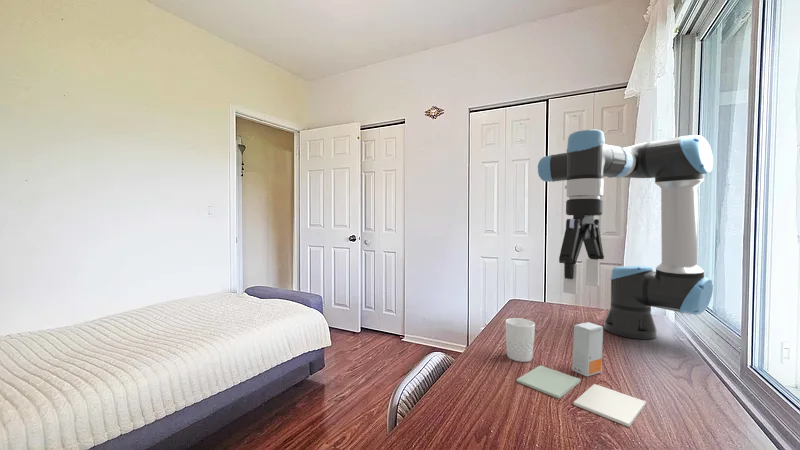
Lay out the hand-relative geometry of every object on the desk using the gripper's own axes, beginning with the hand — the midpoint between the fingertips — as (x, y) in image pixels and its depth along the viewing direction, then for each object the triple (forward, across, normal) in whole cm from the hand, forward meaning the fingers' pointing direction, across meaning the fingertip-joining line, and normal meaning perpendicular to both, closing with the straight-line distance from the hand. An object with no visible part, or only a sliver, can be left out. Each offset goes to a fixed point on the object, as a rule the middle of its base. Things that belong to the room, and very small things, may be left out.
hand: (581, 289), depth 79 cm
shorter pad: (+23, +4, -6) cm, 24 cm away
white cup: (+23, -4, -17) cm, 29 cm away
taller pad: (+23, +4, +8) cm, 24 cm away
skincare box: (+23, -9, -1) cm, 25 cm away
